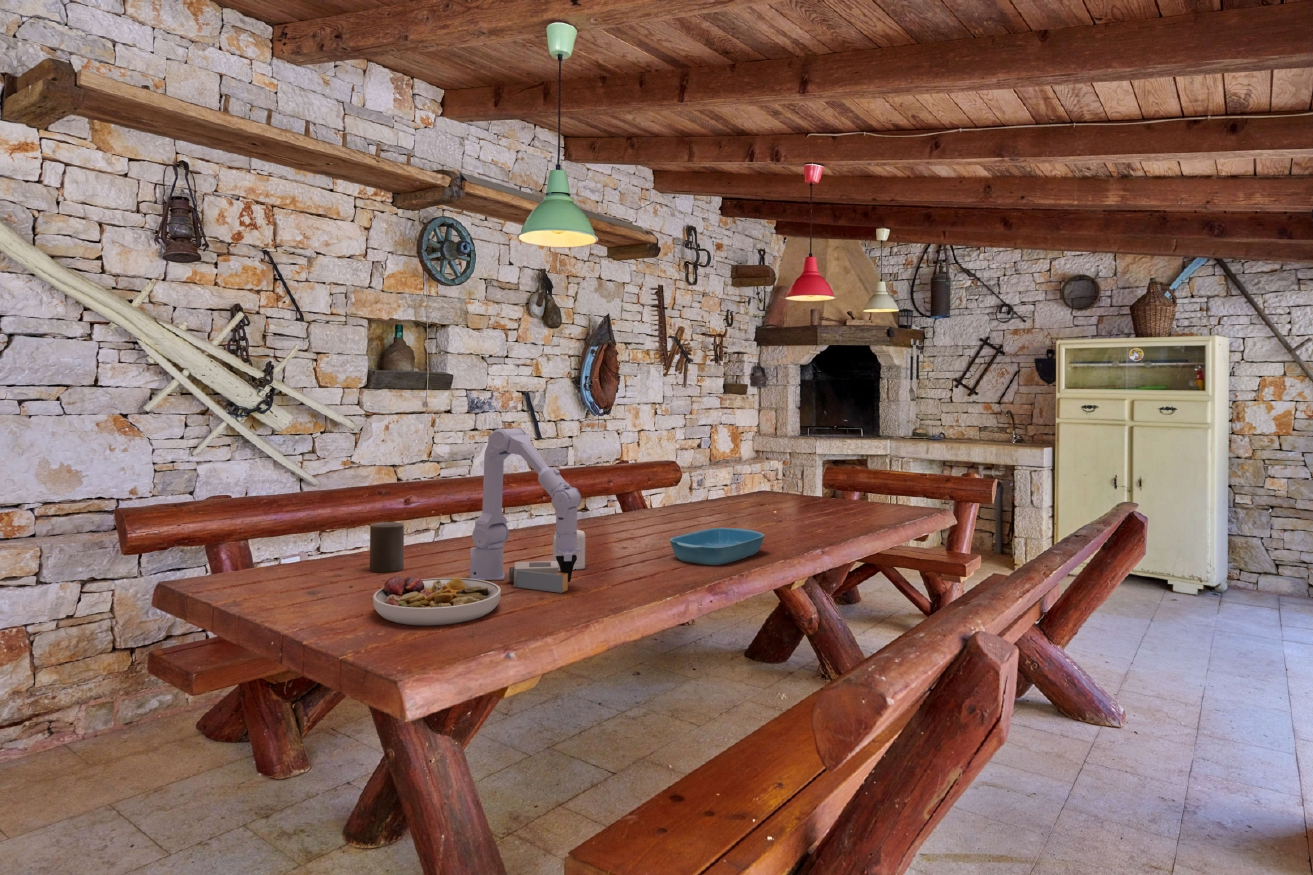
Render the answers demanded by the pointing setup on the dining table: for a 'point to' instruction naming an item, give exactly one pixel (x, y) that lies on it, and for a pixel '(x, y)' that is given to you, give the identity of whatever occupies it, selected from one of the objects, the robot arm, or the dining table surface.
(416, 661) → the dining table surface
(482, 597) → the bowl
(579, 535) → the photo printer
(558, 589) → the grey and orange bar
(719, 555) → the casserole dish
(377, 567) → the pillar candle
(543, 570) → the camera housing
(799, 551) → the dining table surface
